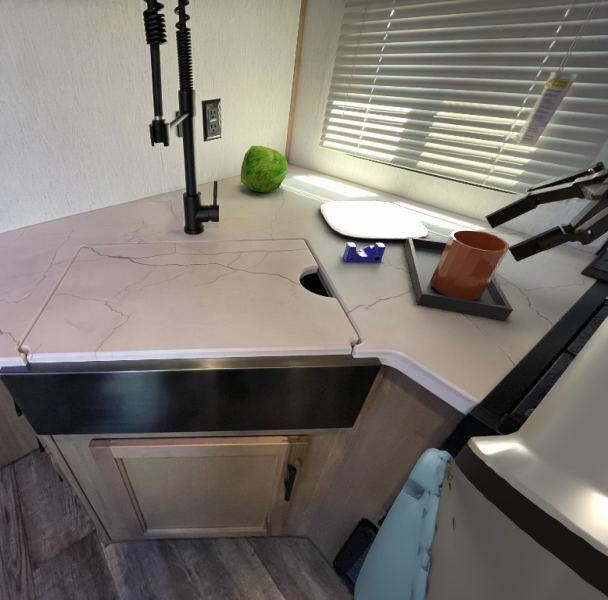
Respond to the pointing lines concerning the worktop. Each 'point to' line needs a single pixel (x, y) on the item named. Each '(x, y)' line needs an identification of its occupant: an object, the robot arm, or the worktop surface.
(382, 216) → the plate
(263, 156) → the lettuce
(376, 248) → the cable holder
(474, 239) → the terracotta plant pot
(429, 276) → the tray
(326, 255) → the worktop surface
